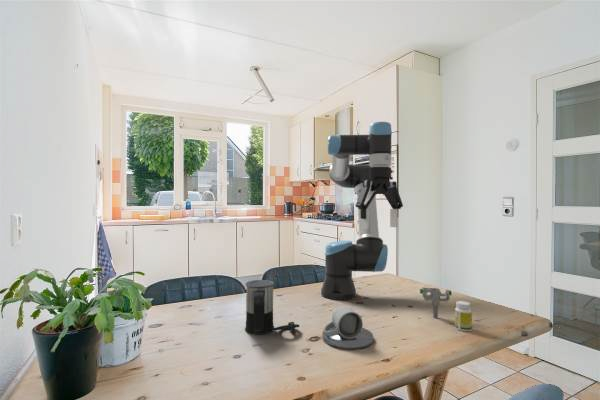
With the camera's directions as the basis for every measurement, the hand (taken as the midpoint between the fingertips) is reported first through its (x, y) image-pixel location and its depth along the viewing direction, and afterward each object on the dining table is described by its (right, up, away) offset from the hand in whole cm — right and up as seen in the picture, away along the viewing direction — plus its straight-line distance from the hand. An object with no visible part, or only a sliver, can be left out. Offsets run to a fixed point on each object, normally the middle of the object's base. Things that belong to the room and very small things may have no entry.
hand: (380, 227), depth 112 cm
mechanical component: (+20, -32, +1) cm, 38 cm away
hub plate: (-14, -32, -16) cm, 38 cm away
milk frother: (-37, -32, -11) cm, 50 cm away
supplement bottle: (+25, -32, -9) cm, 41 cm away
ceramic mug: (-15, -31, -17) cm, 38 cm away
